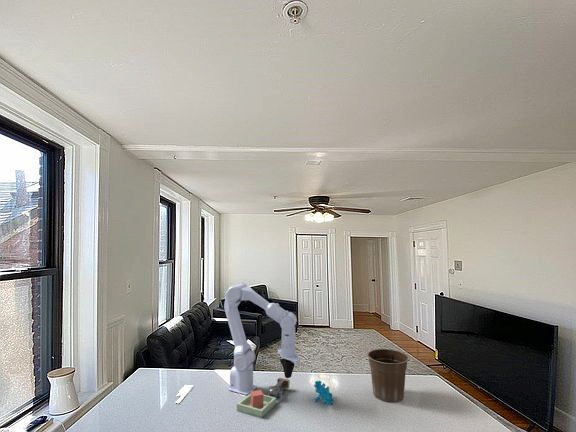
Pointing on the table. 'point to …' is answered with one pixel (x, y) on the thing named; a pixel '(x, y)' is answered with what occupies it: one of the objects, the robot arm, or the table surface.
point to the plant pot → (388, 374)
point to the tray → (246, 408)
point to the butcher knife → (184, 392)
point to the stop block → (257, 399)
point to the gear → (323, 393)
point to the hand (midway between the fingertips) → (288, 377)
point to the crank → (279, 387)
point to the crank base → (279, 398)
